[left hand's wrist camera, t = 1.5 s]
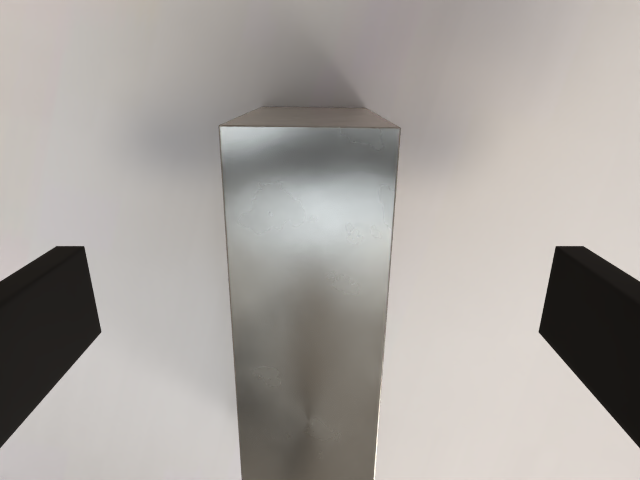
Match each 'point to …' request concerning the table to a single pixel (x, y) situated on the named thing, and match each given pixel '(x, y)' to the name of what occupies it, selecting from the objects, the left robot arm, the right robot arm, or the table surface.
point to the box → (308, 285)
